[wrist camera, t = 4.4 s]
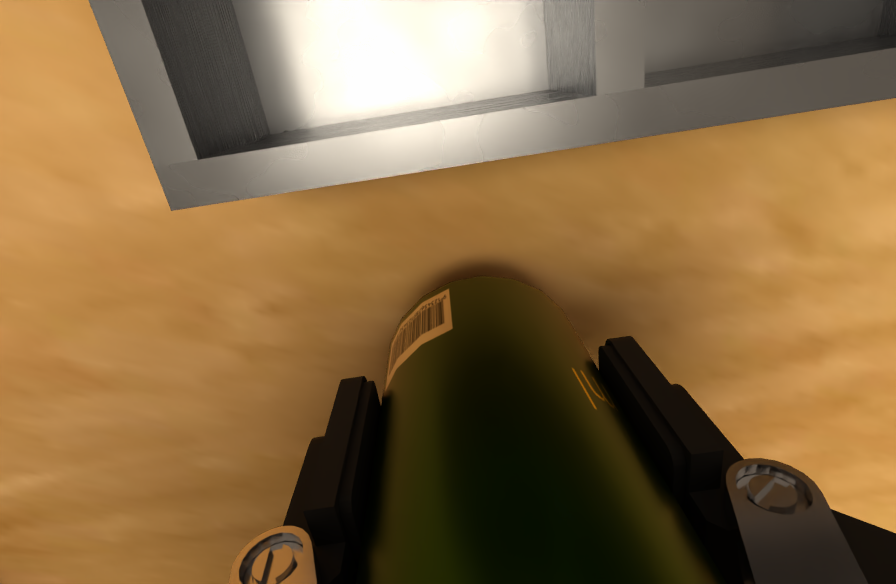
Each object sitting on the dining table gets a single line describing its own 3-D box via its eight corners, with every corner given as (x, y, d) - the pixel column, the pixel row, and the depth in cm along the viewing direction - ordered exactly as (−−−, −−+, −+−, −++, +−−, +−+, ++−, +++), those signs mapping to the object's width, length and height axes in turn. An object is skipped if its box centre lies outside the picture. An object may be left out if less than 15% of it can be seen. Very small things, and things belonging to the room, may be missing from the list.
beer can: (355, 375, 15) (135, 1278, 4) (456, 229, 13) (628, 1081, 2) (499, 449, 16) (664, 1273, 5) (607, 326, 14) (1224, 1152, 3)
